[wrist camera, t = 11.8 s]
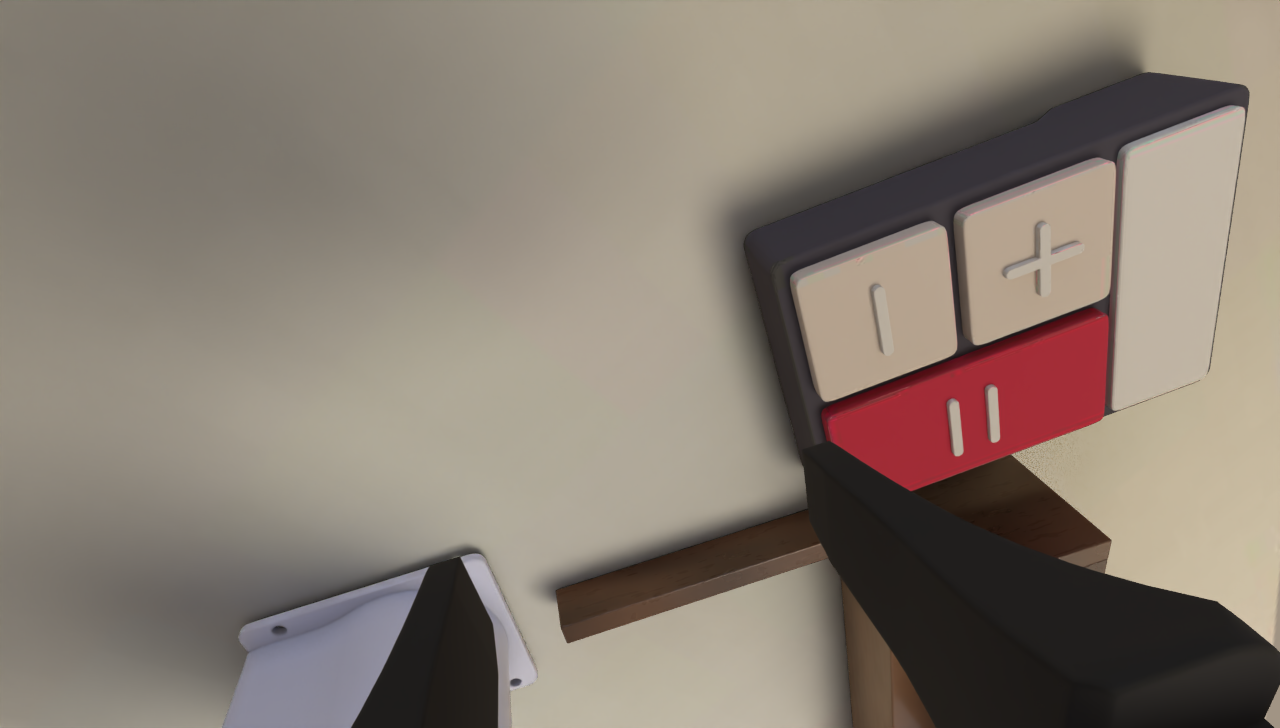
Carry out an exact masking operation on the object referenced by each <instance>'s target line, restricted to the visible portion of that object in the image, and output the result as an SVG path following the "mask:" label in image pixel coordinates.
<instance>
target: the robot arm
mask: <svg viewBox="0 0 1280 728" xmlns="http://www.w3.org/2000/svg"><path fill="white" fill-rule="evenodd" d="M802 456H803V465H804V474H805V483H806V493H807V502H808V511H809V520H810V523H811V525H812V527H813V529H814V531H815V533H816V535H817V537H818V539H819V541H820V543H821V545H822V547H823V548H824V550H825V552H826V554H827V556H828V558H829V560H830V562H831V563H832V565H833V566H834V568H835V569H836V571H837V572H838V574H839V575H840V577H841V578H842V580H843V581H844V583H845V584H846V586H847V587H848V589H849V590H850V592H851V593H852V594H853V596H854V597H855V599H856V600H857V602H858V603H859V605H860V606H861V608H862V609H863V610H864V612H865V613H866V615H867V616H868V618H869V619H870V621H871V622H872V623H873V625H874V626H875V628H876V629H877V631H878V632H879V634H880V635H881V637H882V638H883V639H884V641H885V642H886V644H887V645H888V647H889V648H890V650H891V651H892V652H893V654H894V656H895V657H896V659H897V660H898V662H899V663H900V665H901V667H902V668H903V670H904V671H905V673H906V675H907V676H908V678H909V680H910V682H911V684H912V685H913V687H914V689H915V691H916V693H917V694H918V696H919V698H920V700H921V701H922V703H923V705H924V707H925V709H926V710H927V712H928V714H929V716H930V718H931V719H932V721H933V723H934V725H935V727H936V728H1274V727H1273V726H1272V725H1271V724H1270V723H1269V722H1268V721H1266V720H1265V719H1264V718H1265V715H1266V713H1267V711H1268V709H1269V707H1270V705H1271V702H1272V700H1273V698H1274V696H1275V694H1276V692H1277V689H1278V687H1279V685H1280V652H1279V651H1278V650H1277V649H1276V648H1275V647H1274V646H1273V645H1271V644H1270V643H1269V642H1268V641H1267V640H1265V639H1264V638H1263V637H1262V636H1260V635H1259V634H1258V633H1257V632H1256V631H1254V630H1253V629H1252V628H1251V627H1250V626H1248V625H1247V624H1246V623H1245V622H1244V621H1242V620H1241V619H1240V618H1238V617H1237V616H1236V615H1234V614H1233V613H1232V612H1230V611H1229V610H1228V609H1226V608H1225V607H1224V606H1222V605H1221V604H1219V603H1218V602H1217V601H1212V600H1208V599H1204V598H1199V597H1195V596H1190V595H1186V594H1182V593H1177V592H1173V591H1169V590H1164V589H1160V588H1156V587H1151V586H1147V585H1143V584H1139V583H1136V582H1132V581H1129V580H1125V579H1122V578H1118V577H1115V576H1111V575H1108V574H1104V573H1101V572H1097V571H1094V570H1091V569H1088V568H1085V567H1081V566H1078V565H1075V564H1072V563H1069V562H1066V561H1064V560H1061V559H1058V558H1055V557H1052V556H1050V555H1047V554H1044V553H1041V552H1038V551H1035V550H1033V549H1030V548H1028V547H1025V546H1023V545H1020V544H1017V543H1015V542H1013V541H1010V540H1008V539H1006V538H1003V537H1001V536H999V535H996V534H994V533H992V532H989V531H987V530H985V529H982V528H980V527H978V526H976V525H974V524H972V523H969V522H967V521H965V520H963V519H961V518H959V517H957V516H955V515H953V514H951V513H950V512H948V511H946V510H944V509H942V508H940V507H938V506H936V505H934V504H933V503H931V502H929V501H927V500H925V499H923V498H922V497H920V496H918V495H917V494H915V493H913V492H911V491H910V490H908V489H906V488H905V487H903V486H901V485H899V484H898V483H896V482H894V481H893V480H891V479H889V478H888V477H886V476H884V475H883V474H881V473H880V472H878V471H877V470H875V469H873V468H872V467H870V466H869V465H867V464H865V463H864V462H862V461H861V460H859V459H858V458H856V457H855V456H853V455H851V454H850V453H848V452H847V451H845V450H844V449H842V448H841V447H839V446H838V445H836V444H834V443H833V442H831V441H827V442H824V443H821V444H817V445H814V446H811V447H808V448H805V449H802ZM277 626H283V627H277ZM238 640H239V642H240V643H241V645H242V646H243V647H244V648H245V649H246V651H247V652H248V654H247V657H246V660H245V663H244V666H243V669H242V672H241V674H240V677H239V680H238V683H237V686H236V689H235V691H234V694H233V697H232V700H231V703H230V706H229V709H228V711H227V714H226V717H225V720H224V723H223V726H222V728H512V718H511V698H510V691H513V690H516V689H519V688H522V687H525V686H528V685H530V684H532V683H534V682H535V681H536V680H537V678H538V674H537V668H536V665H535V663H534V661H533V659H532V657H531V655H530V653H529V650H528V648H527V646H526V644H525V642H524V640H523V637H522V635H521V633H520V631H519V629H518V627H517V625H516V622H515V620H514V618H513V616H512V614H511V612H510V610H509V607H508V605H507V603H506V601H505V599H504V597H503V595H502V592H501V590H500V588H499V586H498V584H497V582H496V580H495V577H494V575H493V573H492V571H491V569H490V567H489V565H488V562H487V560H486V559H485V557H484V556H482V555H480V554H475V553H474V554H468V555H465V556H462V557H457V558H453V559H450V560H447V561H444V562H441V563H437V564H434V565H431V566H429V567H427V568H424V569H421V570H417V571H414V572H411V573H408V574H405V575H401V576H398V577H395V578H392V579H389V580H385V581H382V582H379V583H376V584H373V585H370V586H366V587H363V588H360V589H357V590H354V591H350V592H347V593H344V594H341V595H338V596H334V597H331V598H328V599H325V600H322V601H318V602H315V603H312V604H309V605H306V606H302V607H299V608H296V609H293V610H290V611H287V612H283V613H280V614H277V615H274V616H271V617H267V618H264V619H261V620H258V621H255V622H251V623H248V624H246V625H244V626H243V627H242V629H241V631H240V634H239V637H238Z"/></svg>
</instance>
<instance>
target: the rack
mask: <svg viewBox="0 0 1280 728" xmlns="http://www.w3.org/2000/svg"><path fill="white" fill-rule="evenodd" d="M911 492H913V493H915V494H917V495H918V496H920V497H922V498H923V499H925V500H927V501H929V502H931V503H933V504H934V505H936V506H938V507H940V508H942V509H944V510H946V511H948V512H950V513H951V514H953V515H955V516H957V517H959V518H961V519H963V520H965V521H967V522H969V523H972V524H974V525H976V526H978V527H980V528H982V529H985V530H987V531H989V532H992V533H994V534H996V535H999V536H1001V537H1003V538H1006V539H1008V540H1010V541H1013V542H1015V543H1017V544H1020V545H1023V546H1025V547H1028V548H1030V549H1033V550H1035V551H1038V552H1041V553H1044V554H1047V555H1050V556H1052V557H1055V558H1058V559H1061V560H1064V561H1066V562H1069V563H1072V564H1075V565H1078V566H1081V567H1085V568H1088V569H1091V570H1094V571H1097V572H1101V573H1104V574H1105V569H1106V564H1107V558H1108V555H1109V551H1110V546H1111V539H1110V538H1108V537H1107V536H1106V535H1105V534H1104V533H1103V532H1101V531H1100V530H1099V529H1098V528H1097V527H1096V526H1094V525H1093V524H1092V523H1091V522H1090V521H1088V520H1087V519H1086V518H1085V517H1084V516H1083V515H1081V514H1080V513H1079V512H1078V511H1077V510H1075V509H1074V508H1073V507H1072V506H1071V505H1070V504H1068V503H1067V502H1066V501H1065V500H1064V499H1063V498H1061V497H1060V496H1059V495H1058V494H1057V493H1055V492H1054V491H1053V490H1052V489H1051V488H1050V487H1048V486H1047V485H1046V484H1045V483H1044V482H1042V481H1041V480H1040V479H1039V478H1038V477H1037V476H1035V475H1034V474H1033V473H1032V472H1031V471H1030V470H1028V469H1027V468H1026V467H1025V466H1024V465H1022V464H1021V463H1020V462H1019V461H1018V460H1017V459H1015V458H1014V457H1013V456H1012V455H1008V456H1005V457H1002V458H1000V459H997V460H994V461H992V462H989V463H986V464H983V465H981V466H978V467H975V468H973V469H970V470H967V471H965V472H962V473H959V474H956V475H954V476H951V477H948V478H946V479H943V480H940V481H938V482H935V483H932V484H929V485H927V486H924V487H921V488H919V489H916V490H913V491H911ZM827 558H828V556H827V554H826V552H825V550H824V548H823V547H822V545H821V543H820V541H819V539H818V537H817V535H816V533H815V531H814V529H813V527H812V525H811V523H810V520H809V511H808V509H807V510H804V511H801V512H798V513H795V514H792V515H789V516H786V517H783V518H779V519H776V520H773V521H770V522H767V523H764V524H761V525H758V526H755V527H751V528H748V529H745V530H742V531H739V532H736V533H733V534H730V535H726V536H723V537H720V538H717V539H714V540H711V541H708V542H705V543H702V544H698V545H695V546H692V547H689V548H686V549H683V550H680V551H677V552H674V553H670V554H667V555H664V556H661V557H658V558H655V559H652V560H649V561H646V562H642V563H639V564H636V565H633V566H630V567H627V568H624V569H621V570H617V571H614V572H611V573H608V574H605V575H602V576H599V577H596V578H593V579H589V580H586V581H583V582H580V583H577V584H574V585H571V586H568V587H565V588H561V589H558V590H556V595H557V603H558V610H559V618H560V625H561V630H562V632H563V634H564V637H565V639H566V642H567V643H571V642H574V641H577V640H580V639H583V638H586V637H589V636H592V635H595V634H598V633H601V632H604V631H607V630H610V629H613V628H616V627H620V626H623V625H626V624H629V623H632V622H635V621H638V620H641V619H644V618H647V617H650V616H653V615H656V614H659V613H662V612H665V611H668V610H671V609H674V608H677V607H680V606H684V605H687V604H690V603H693V602H696V601H699V600H702V599H705V598H708V597H711V596H714V595H717V594H720V593H723V592H726V591H729V590H732V589H735V588H738V587H741V586H744V585H748V584H751V583H754V582H757V581H760V580H763V579H766V578H769V577H772V576H775V575H778V574H781V573H784V572H787V571H790V570H793V569H796V568H799V567H802V566H805V565H809V564H812V563H815V562H818V561H821V560H824V559H827ZM841 585H842V597H843V609H844V622H845V634H846V646H847V659H848V671H849V683H850V696H851V708H852V720H853V728H936V727H935V725H934V723H933V721H932V719H931V718H930V716H929V714H928V712H927V710H926V709H925V707H924V705H923V703H922V701H921V700H920V698H919V696H918V694H917V693H916V691H915V689H914V687H913V685H912V684H911V682H910V680H909V678H908V676H907V675H906V673H905V671H904V670H903V668H902V667H901V665H900V663H899V662H898V660H897V659H896V657H895V656H894V654H893V652H892V651H891V650H890V648H889V647H888V645H887V644H886V642H885V641H884V639H883V638H882V637H881V635H880V634H879V632H878V631H877V629H876V628H875V626H874V625H873V623H872V622H871V621H870V619H869V618H868V616H867V615H866V613H865V612H864V610H863V609H862V608H861V606H860V605H859V603H858V602H857V600H856V599H855V597H854V596H853V594H852V593H851V592H850V590H849V589H848V587H847V586H846V584H845V583H844V581H843V580H842V578H841Z"/></svg>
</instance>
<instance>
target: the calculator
mask: <svg viewBox="0 0 1280 728" xmlns="http://www.w3.org/2000/svg"><path fill="white" fill-rule="evenodd" d="M1248 104H1249V90H1248V88H1247V87H1246V86H1244V85H1240V84H1234V83H1227V82H1220V81H1213V80H1205V79H1198V78H1190V77H1183V76H1176V75H1168V74H1161V73H1151V72H1148V73H1143V74H1140V75H1138V76H1135V77H1132V78H1130V79H1127V80H1125V81H1122V82H1119V83H1117V84H1114V85H1111V86H1109V87H1106V88H1104V89H1101V90H1098V91H1096V92H1093V93H1091V94H1088V95H1085V96H1083V97H1080V98H1078V99H1075V100H1072V101H1070V102H1067V103H1065V104H1062V105H1059V106H1057V107H1054V108H1052V109H1051V110H1049V111H1048V112H1047V113H1046V114H1045V115H1044V116H1043V117H1042V118H1040V119H1039V120H1038V121H1037V122H1035V123H1032V124H1030V125H1027V126H1025V127H1022V128H1019V129H1017V130H1014V131H1012V132H1009V133H1006V134H1004V135H1001V136H998V137H996V138H993V139H991V140H988V141H985V142H983V143H980V144H978V145H975V146H972V147H970V148H967V149H965V150H962V151H959V152H957V153H954V154H951V155H949V156H946V157H944V158H941V159H938V160H936V161H933V162H931V163H928V164H925V165H923V166H920V167H918V168H915V169H912V170H910V171H907V172H904V173H902V174H899V175H897V176H894V177H891V178H889V179H886V180H884V181H881V182H878V183H876V184H873V185H871V186H868V187H865V188H863V189H860V190H858V191H855V192H852V193H850V194H847V195H844V196H842V197H839V198H837V199H834V200H831V201H829V202H826V203H824V204H821V205H818V206H816V207H813V208H811V209H808V210H805V211H803V212H800V213H797V214H795V215H792V216H790V217H787V218H784V219H782V220H779V221H777V222H774V223H771V224H769V225H766V226H764V227H761V228H758V229H756V230H754V231H752V232H750V233H749V234H748V235H747V237H746V238H745V241H744V249H745V253H746V257H747V261H748V265H749V268H750V272H751V276H752V280H753V283H754V287H755V291H756V294H757V298H758V302H759V306H760V309H761V313H762V317H763V321H764V324H765V328H766V332H767V335H768V339H769V343H770V347H771V350H772V354H773V358H774V362H775V365H776V369H777V373H778V377H779V380H780V384H781V388H782V391H783V395H784V399H785V403H786V406H787V410H788V414H789V418H790V421H791V425H792V429H793V432H794V436H795V440H796V444H797V447H798V451H799V455H800V459H801V462H802V465H803V456H802V449H805V448H808V447H811V446H814V445H817V444H821V443H824V442H827V441H831V442H833V443H834V444H836V445H838V446H839V447H841V448H842V449H844V450H845V451H847V452H848V453H850V454H851V455H853V456H855V457H856V458H858V459H859V460H861V461H862V462H864V463H865V464H867V465H869V466H870V467H872V468H873V469H875V470H877V471H878V472H880V473H881V474H883V475H884V476H886V477H888V478H889V479H891V480H893V481H894V482H896V483H898V484H899V485H901V486H903V487H905V488H906V489H908V490H910V491H913V490H916V489H919V488H921V487H924V486H927V485H929V484H932V483H935V482H938V481H940V480H943V479H946V478H948V477H951V476H954V475H956V474H959V473H962V472H965V471H967V470H970V469H973V468H975V467H978V466H981V465H983V464H986V463H989V462H992V461H994V460H997V459H1000V458H1002V457H1005V456H1008V455H1011V454H1013V453H1016V452H1019V451H1021V450H1024V449H1027V448H1029V447H1032V446H1035V445H1038V444H1040V443H1043V442H1046V441H1048V440H1051V439H1054V438H1056V437H1059V436H1062V435H1065V434H1067V433H1070V432H1073V431H1075V430H1078V429H1081V428H1083V427H1086V426H1089V425H1091V424H1094V423H1096V422H1098V421H1100V420H1101V419H1102V418H1103V417H1104V416H1106V415H1109V414H1112V413H1114V412H1117V411H1120V410H1122V409H1125V408H1128V407H1131V406H1133V405H1136V404H1139V403H1141V402H1144V401H1147V400H1149V399H1152V398H1155V397H1158V396H1160V395H1163V394H1166V393H1168V392H1171V391H1174V390H1176V389H1179V388H1182V387H1185V386H1187V385H1190V384H1193V383H1195V382H1198V381H1200V380H1201V379H1203V378H1204V377H1205V376H1206V375H1207V374H1208V372H1209V369H1210V363H1211V357H1212V350H1213V343H1214V336H1215V329H1216V323H1217V316H1218V309H1219V302H1220V295H1221V288H1222V282H1223V275H1224V268H1225V261H1226V254H1227V248H1228V241H1229V234H1230V227H1231V220H1232V214H1233V207H1234V200H1235V193H1236V186H1237V179H1238V173H1239V166H1240V159H1241V152H1242V145H1243V139H1244V132H1245V125H1246V118H1247V111H1248ZM803 467H804V465H803Z"/></svg>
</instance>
